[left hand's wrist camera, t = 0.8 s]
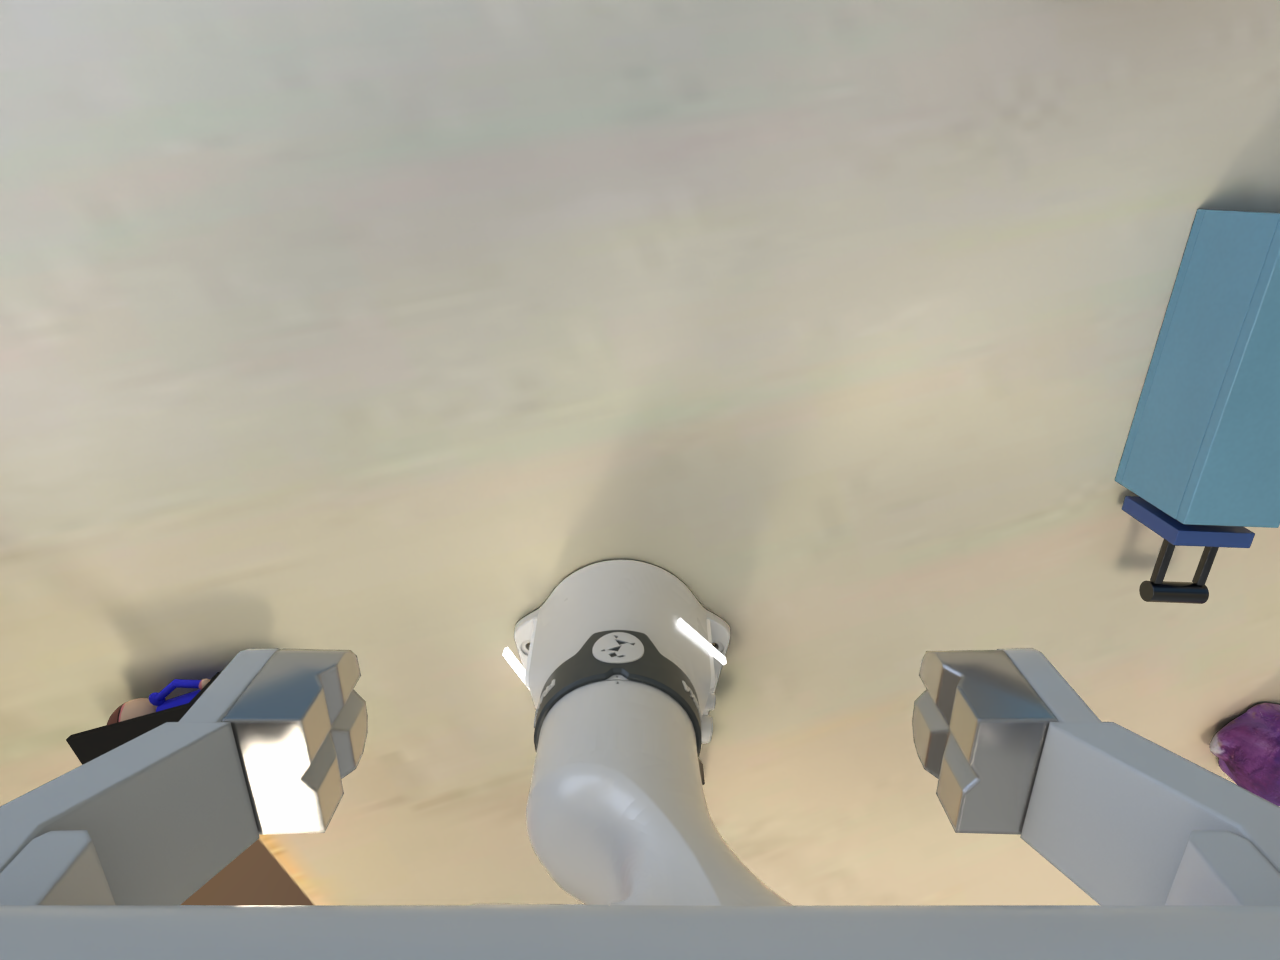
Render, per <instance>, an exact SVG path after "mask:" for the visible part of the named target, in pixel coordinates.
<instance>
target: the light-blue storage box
mask: <svg viewBox="0 0 1280 960" xmlns="http://www.w3.org/2000/svg"><path fill="white" fill-rule="evenodd" d="M1115 481H1116V482H1118V483H1119V484H1121V485H1122V486H1124V487H1126V488H1127V489H1129V490H1130V491H1132V492H1133V493H1135V494H1137V495H1138V496H1140V497H1141V498H1143V499H1144V500H1146V501H1148V502H1149V503H1151V504H1152V505H1154V506H1155V507H1157V508H1159V509H1160V510H1162V511H1163V512H1165V513H1166V514H1168V515H1170V516H1171V517H1173V518H1174V519H1176V520H1178V521H1179V522H1181V523H1183V524H1193V525H1219V526H1245V527H1271V528H1278V527H1279V525H1280V213H1273V212H1251V211H1228V210H1206V209H1198V210H1197V213H1196V216H1195V219H1194V222H1193V226H1192V229H1191V232H1190V236H1189V239H1188V242H1187V245H1186V249H1185V252H1184V255H1183V258H1182V262H1181V265H1180V268H1179V272H1178V275H1177V278H1176V281H1175V285H1174V288H1173V291H1172V294H1171V298H1170V301H1169V304H1168V308H1167V311H1166V314H1165V317H1164V321H1163V324H1162V327H1161V330H1160V334H1159V337H1158V340H1157V344H1156V347H1155V350H1154V353H1153V357H1152V360H1151V363H1150V366H1149V370H1148V373H1147V376H1146V380H1145V383H1144V386H1143V389H1142V393H1141V396H1140V399H1139V403H1138V406H1137V409H1136V412H1135V416H1134V419H1133V422H1132V425H1131V429H1130V432H1129V435H1128V439H1127V442H1126V445H1125V448H1124V452H1123V455H1122V458H1121V461H1120V465H1119V468H1118V471H1117V475H1116V478H1115Z"/></svg>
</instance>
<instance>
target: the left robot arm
mask: <svg viewBox="0 0 1280 960" xmlns="http://www.w3.org/2000/svg"><path fill="white" fill-rule="evenodd" d="M514 639H515V643H516V646H517V649H518V653H519V656H520V659H521V662H522V665H521V664H520V663H519V661H518V660H517V659H516V657H515V656H514V655H513V653H512V652H511V651H510V650H509V648H508V647H507V648H505V649H504V652H503V656H504V658H505V659H506V660H507V662H508V663H509V664H510V665H511V667H512V668H513V669H514V671H515V672H516V673H517V674H518V676H519V677H520V678H521V680H522V681H523V682H524V683H525V686H526V687H527V688H528V689H529V690H530V693H531V697H532V700H533V703H534V706H535V708H536V714H535V720H534V728H535V732H534V744H535V750H536V758H535V763H534V768H533V774H532V779H531V785H530V790H529V796H528V801H527V808H526V825H527V832H528V836H529V840H530V843H531V845H532V848H533V850H534V852H535V854H536V856H537V857H538V859H539V861H540V862H541V864H542V865H543V867H544V868H545V870H546V871H547V872H548V874H549V875H550V876H551V878H552V879H553V880H554V881H555V882H556V883H557V884H558V885H559V887H560V888H562V889H563V890H564V891H566V892H567V893H568V894H570V895H571V896H573V897H574V898H576V899H577V900H579V901H581V902H582V903H584V904H586V905H575V904H483V903H479V904H474V905H390V906H215V905H181V904H182V903H183V902H184V901H185V900H187V899H188V898H189V897H190V896H191V895H193V894H194V893H195V892H196V891H197V890H198V889H200V888H201V887H202V886H203V885H204V884H205V883H207V882H208V881H209V880H210V879H211V878H213V877H214V876H215V875H216V874H217V873H219V872H220V871H221V870H222V869H223V868H224V867H226V866H227V865H228V864H229V863H230V862H232V861H233V860H234V859H235V858H236V857H237V856H239V855H240V854H241V853H242V852H243V851H245V850H246V849H247V848H248V847H249V846H250V845H252V844H253V843H254V842H255V841H256V840H258V839H259V834H291V833H325V831H326V829H327V827H328V825H329V823H330V821H331V819H332V816H333V814H334V812H335V810H336V808H337V806H338V804H339V802H340V800H341V798H342V796H343V794H344V792H343V786H342V781H341V779H342V778H344V777H345V776H346V775H348V774H349V773H351V772H352V771H353V770H355V769H356V767H357V765H358V763H359V761H360V759H361V756H362V754H363V751H364V746H365V741H366V737H367V722H368V715H367V709H366V702H365V700H364V699H363V698H362V697H361V696H360V695H359V694H358V693H357V692H356V691H355V690H354V687H355V685H356V683H357V682H358V680H359V678H360V676H361V673H360V668H359V664H358V659H357V656H356V655H355V654H354V653H353V652H352V651H351V650H318V649H282V650H281V649H246V650H243V651H240V652H239V653H238V654H237V655H236V656H235V657H234V658H233V659H232V661H231V662H230V663H229V664H228V665H227V666H226V668H225V669H224V670H223V671H222V672H221V673H220V675H219V676H218V677H217V678H216V679H215V680H214V681H213V683H212V684H211V685H210V686H209V687H208V688H207V690H206V691H205V692H204V693H203V694H202V695H201V696H200V698H199V699H198V700H197V701H196V702H195V703H194V705H193V706H192V707H191V708H190V709H189V710H188V711H187V713H186V714H185V715H184V716H183V717H182V718H181V720H180V721H179V722H166V723H164V724H162V725H160V726H158V727H156V728H154V729H152V730H150V731H148V732H146V733H144V734H142V735H141V736H139V737H137V738H135V739H133V740H131V741H129V742H127V743H125V744H123V745H121V746H119V747H117V748H115V749H113V750H111V751H109V752H107V753H105V754H103V755H101V756H99V757H97V758H95V759H93V760H91V761H89V762H87V763H85V764H83V765H81V766H79V767H77V768H75V769H73V770H72V771H70V772H68V773H66V774H64V775H62V776H60V777H58V778H56V779H54V780H52V781H50V782H48V783H46V784H44V785H42V786H40V787H38V788H36V789H34V790H32V791H30V792H28V793H26V794H24V795H22V796H20V797H18V798H16V799H14V800H12V801H10V802H8V803H6V804H4V805H3V806H1V807H0V960H1280V807H1279V806H1277V805H1275V804H1273V803H1271V802H1269V801H1267V800H1265V799H1263V798H1261V797H1259V796H1257V795H1255V794H1253V793H1251V792H1249V791H1248V790H1246V789H1244V788H1242V787H1240V786H1238V785H1236V784H1234V783H1232V782H1230V781H1228V780H1226V779H1224V778H1222V777H1220V776H1218V775H1216V774H1214V773H1212V772H1210V771H1208V770H1206V769H1204V768H1202V767H1200V766H1198V765H1196V764H1194V763H1192V762H1191V761H1189V760H1187V759H1185V758H1183V757H1181V756H1179V755H1177V754H1175V753H1173V752H1171V751H1169V750H1167V749H1165V748H1163V747H1161V746H1159V745H1157V744H1155V743H1153V742H1151V741H1149V740H1147V739H1145V738H1143V737H1141V736H1139V735H1137V734H1135V733H1134V732H1132V731H1130V730H1128V729H1126V728H1124V727H1122V726H1120V725H1118V724H1116V723H1114V722H1101V721H1100V720H1099V718H1098V717H1097V716H1096V715H1095V714H1094V713H1093V711H1092V710H1091V709H1090V708H1089V707H1088V706H1087V705H1086V703H1085V702H1084V701H1083V700H1082V699H1081V698H1080V696H1079V695H1078V694H1077V693H1076V692H1075V691H1074V690H1073V688H1072V687H1071V686H1070V685H1069V684H1068V683H1067V681H1066V680H1065V679H1064V678H1063V677H1062V676H1061V675H1060V673H1059V672H1058V671H1057V670H1056V669H1055V668H1054V666H1053V665H1052V664H1051V663H1050V662H1049V661H1048V660H1047V658H1046V657H1045V656H1044V655H1043V654H1042V653H1041V652H1040V651H1037V650H1035V649H1033V648H1022V649H997V650H967V651H926V653H925V655H924V657H923V659H922V662H921V667H920V673H919V676H920V678H921V680H922V682H923V683H924V685H925V687H926V690H925V691H924V692H923V693H922V694H921V695H920V696H919V697H918V698H917V699H916V700H915V703H914V710H913V718H912V726H913V738H914V743H915V747H916V750H917V754H918V757H919V759H920V761H921V763H922V765H923V767H924V769H925V770H927V771H928V772H929V773H931V774H932V775H934V776H935V777H936V778H938V779H939V781H938V786H937V792H936V794H937V796H938V798H939V800H940V802H941V804H942V806H943V808H944V810H945V812H946V814H947V816H948V818H949V820H950V822H951V824H952V826H953V828H954V831H955V833H988V834H1021V837H1020V838H1022V839H1023V840H1024V841H1025V842H1026V843H1028V844H1029V845H1030V846H1031V847H1032V848H1033V849H1035V850H1036V851H1037V852H1038V853H1039V854H1040V855H1042V856H1043V857H1044V858H1045V859H1046V860H1048V861H1049V862H1050V863H1051V864H1052V865H1053V866H1055V867H1056V868H1057V869H1058V870H1059V871H1061V872H1062V873H1063V874H1064V875H1065V876H1066V877H1068V878H1069V879H1070V880H1071V881H1072V882H1074V883H1075V884H1076V885H1077V886H1078V887H1079V888H1081V889H1082V890H1083V891H1084V892H1085V893H1087V894H1088V895H1089V896H1090V897H1091V898H1092V899H1094V900H1095V901H1096V902H1097V903H1098V904H1099V905H1101V906H793V905H792V904H790V903H789V902H787V901H786V900H784V899H783V898H782V897H780V896H779V895H778V894H776V893H775V892H774V891H772V890H771V889H770V888H768V887H767V886H766V885H765V884H764V883H763V882H762V881H760V880H759V879H758V878H757V877H756V876H755V875H754V874H753V873H752V872H751V871H750V870H749V869H748V868H747V867H746V866H745V865H744V864H743V863H742V862H741V861H740V860H739V858H738V857H737V856H736V855H735V854H734V853H733V851H732V850H731V849H730V848H729V846H728V845H727V844H726V842H725V841H724V840H723V838H722V837H721V835H720V834H719V832H718V830H717V829H716V827H715V825H714V823H713V821H712V819H711V817H710V814H709V811H708V808H707V804H706V800H705V795H704V791H703V785H704V784H705V783H704V773H703V764H702V763H701V761H700V760H699V758H698V756H699V753H700V749H701V743H705V744H707V743H710V741H711V738H712V731H713V719H712V717H710V716H709V715H708V713H709V711H710V710H711V711H713V710H714V708H715V702H716V696H715V694H714V692H715V689H716V685H717V682H718V679H719V675H720V672H721V668H722V665H725V664H726V657H725V655H726V651H727V648H728V644H729V641H730V627H729V625H728V624H727V623H726V622H725V621H724V620H723V619H721V618H720V617H718V616H717V615H715V614H713V613H711V612H710V611H708V610H706V609H705V608H704V607H703V606H702V605H701V604H700V603H699V602H698V600H697V599H696V598H695V596H694V595H693V593H692V592H691V591H690V590H689V588H688V587H687V586H686V585H685V584H684V583H683V582H682V581H680V580H679V579H678V578H677V577H675V576H674V575H672V574H671V573H669V572H667V571H666V570H664V569H662V568H659V567H657V566H654V565H651V564H648V563H644V562H640V561H634V560H609V561H603V562H599V563H595V564H592V565H589V566H586V567H584V568H582V569H580V570H578V571H576V572H574V573H572V574H571V575H569V576H568V577H567V578H565V579H564V580H563V581H562V582H561V583H560V584H559V585H558V586H557V587H556V588H555V589H554V590H553V592H552V593H551V594H550V596H549V597H548V599H547V600H546V601H545V603H544V604H543V605H542V606H541V607H540V608H539V609H537V610H536V611H534V612H532V613H530V614H529V615H527V616H525V617H524V618H522V619H521V620H520V621H519V622H518V623H517V624H516V626H515V629H514ZM529 642H530V645H528V644H527V643H529ZM712 643H716V644H717V645H716V646H712Z"/></svg>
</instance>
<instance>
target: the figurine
mask: <svg viewBox="0 0 1280 960" xmlns="http://www.w3.org/2000/svg"><path fill="white" fill-rule="evenodd" d="M1210 751H1211V752H1212V753H1213V754H1214V755H1215V756H1217V757H1219V766H1220V768H1221V769H1222V771H1224V772H1225V773H1226V774H1227V775H1228V776H1229V777H1230V778H1231V779H1232V780H1233V781H1234V782H1235V783H1236V784H1237V785H1238V786H1240V787H1242V788H1244V789H1246V790H1248V791H1249V792H1251V793H1253V794H1255V795H1257V796H1259V797H1261V798H1263V799H1265V800H1267V801H1269V802H1271V803H1273V804H1275V805H1277V806H1280V705H1279V704H1273V703H1272V704H1271V703H1262V704H1257V705H1255V706H1253V707H1252V708H1250V709H1248V710H1247V712H1246V713H1244V714H1242V715H1241V716H1239V717H1237V718H1236V719H1234V720H1232V721H1231V722H1229V723H1228V724H1227V725H1225V726H1224V727H1223V728H1222V729H1221V730H1219V731H1218V732H1217V733H1216V734H1215V736H1214V737H1213V739H1212V741H1211V743H1210Z"/></svg>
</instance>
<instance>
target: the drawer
mask: <svg viewBox="0 0 1280 960" xmlns="http://www.w3.org/2000/svg"><path fill="white" fill-rule="evenodd" d="M1122 510H1123V511H1125V512H1126V513H1128V514H1129V515H1131V516H1132V517H1134V518H1135V519H1136V520H1138V521H1139V522H1141V523H1142V524H1144V525H1145V526H1147V527H1148V528H1150V529H1151V530H1152V531H1154V532H1155V533H1157V534H1158V535H1160V536H1161V537H1163V538H1164V541H1163V544H1162V547H1161V550H1160V553H1159V555H1158V558H1157V561H1156V564H1155V567H1154V570H1153V573H1152V576H1151V579H1150V581H1144V582H1142V583H1141V585H1140V596H1141V598H1142V599H1143V600H1144V601H1146V602H1170V603H1198V604H1202V603H1205V602H1206V601H1207V600H1208V597H1209V592H1208V589H1207V587H1206V586H1205V582H1206V580H1207V577H1208V574H1209V572H1210V569H1211V566H1212V564H1213V561H1214V558H1215V556H1216V553H1217V550H1218V548H1219V547H1235V548H1250V546H1251V543H1252V541H1253V538H1254V536H1255V533H1253V532H1251V531H1250V530H1248V529H1246V528H1244V527H1243V526H1219V525H1193V524H1183V523H1181V522H1179V521H1178V520H1176V519H1174V518H1173V517H1171V516H1170V515H1168V514H1166V513H1165V512H1163V511H1162V510H1160V509H1159V508H1157V507H1155V506H1154V505H1152V504H1151V503H1149V502H1148V501H1146V500H1144V499H1143V498H1141V497H1138V496H1126V497H1125V500H1124V503H1123V506H1122ZM1175 545H1182V546H1205V548H1204V551H1203V554H1202V556H1201V559H1200V562H1199V564H1198V567H1197V570H1196V573H1195V575H1194V578H1193V581H1192V582H1193V583H1192V582H1165V581H1163V579H1164V577H1165V574H1166V571H1167V568H1168V565H1169V562H1170V559H1171V557H1172V554H1173V551H1174V548H1175Z"/></svg>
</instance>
